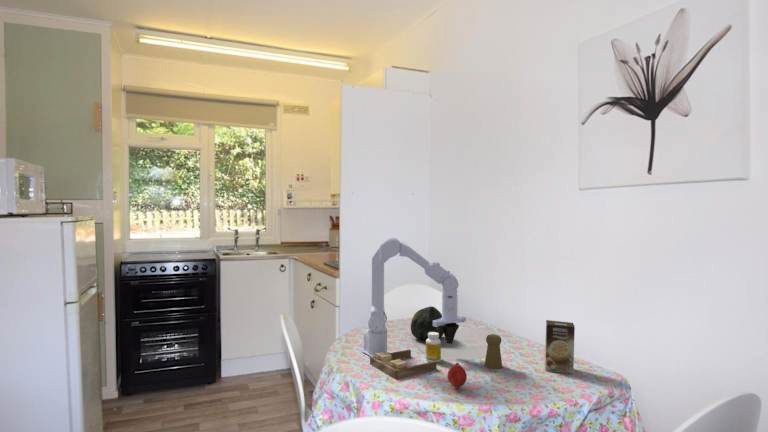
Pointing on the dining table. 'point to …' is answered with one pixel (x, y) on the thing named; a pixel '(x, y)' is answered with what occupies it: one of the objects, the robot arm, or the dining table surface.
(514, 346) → the dining table surface
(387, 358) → the block
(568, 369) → the coffee box
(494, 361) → the cork
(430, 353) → the supplement bottle
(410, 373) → the corral
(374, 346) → the robot arm
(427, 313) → the squash
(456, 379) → the onion
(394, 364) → the block
